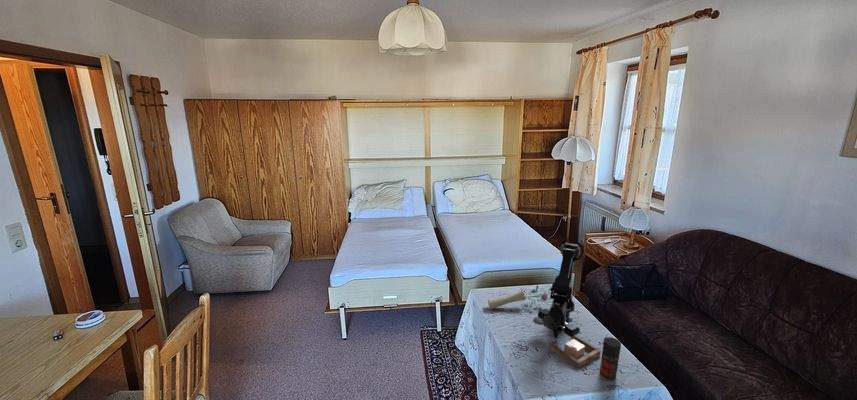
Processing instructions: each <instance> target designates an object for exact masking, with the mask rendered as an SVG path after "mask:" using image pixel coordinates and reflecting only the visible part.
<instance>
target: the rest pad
mask: <svg viewBox="0 0 857 400" xmlns="http://www.w3.org/2000/svg"><path fill="white" fill-rule="evenodd" d="M533 322H534V323H535V324H537V325H543V320H542V319H541V318H539V317H538V316H536V317H534V318H533Z"/></svg>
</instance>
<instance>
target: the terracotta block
mask: <svg viewBox="0 0 857 400" xmlns="http://www.w3.org/2000/svg"><path fill="white" fill-rule="evenodd" d="M563 351H564V352H566V353H567V354H569V355H570V356H572V357H573V358H575V359H576V360H578V359H579V358H581V357H583V355H584V354H585V352H586V348H585V345H583V344H581V343H579V342H578V341H576V340H574V339H570V340H568V341H567V342H565V343H564V347H563Z"/></svg>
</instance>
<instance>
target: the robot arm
mask: <svg viewBox="0 0 857 400" xmlns="http://www.w3.org/2000/svg"><path fill="white" fill-rule="evenodd" d="M560 254H561V256H562V259H561V263H560V270H559V273H558V275H557V276H556V277H555V279H554V282H552V284H551V287H552V289H551V291H550V293H551V294H549V295H550V296H549V300H552V301H553V302H552V303H551V305H550V308H549V309H547V308H543V309H542V310H539V311H538V312H537V317H539V318H541V319H542V320H543V324H542V325H543V326H544V327H545V328H548V330H552V332H553V336H554V339H556V340H557V339H558V338H560V335H561V334H562V333H563V332H564V334H565V335H567V336H568V337H570V338H571V337H573V336H574V335H576V336H577V335H579V334H580V330H581V329H580V327H579V326H578V325H575V324H574V323H570V324H569V322H572V320H573V319H572V318H570V315H571V314H570V313H573V312H575V302H574V300H573V294H572V293H573V288H572V286H571V285H572V278H573V269H574V262H575V261H576V260H577V259H578V257H579V256H580V254H581V247H580V246H579V244H577V243H570V242H564V243H562V245H561V246H560ZM553 291H554V293H555V295H552V294H553Z"/></svg>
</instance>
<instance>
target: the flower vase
mask: <svg viewBox="0 0 857 400" xmlns="http://www.w3.org/2000/svg"><path fill="white" fill-rule="evenodd" d="M551 289H552V286H550V285H549V289H548V290H547V293H546V292H544V293H541V295H533V296H532V295H531V294H536V292H537V293H538V290H539V285H538V284H536V287H535V288H533V289H532V290H530V292H529V293H528V296H526V295H525V293H524V290H521V291H519V292H517V293H514V294H511V295H508V296H503V297H497V298H494V299H493V298H492V299H489V300H487V304H488V306H489V309H490V310H493V309H496V308H498V307H501V306H504V305H507V304H510V303H514V302H518V301H519V302H521V301H525V300H526V299H528V300H530V301H531V303H530V306H533V305H534V306H535V307H536V308H538V306H537V304H536V301H535V300H533V302H532V299H531V298H536V297H537V298H540V299H541V300H542V302H547V300H548V295H551ZM549 292H550V293H549ZM552 295H556V294H555V293H554V291H553V294H552ZM551 302H552V303H553V300H551Z"/></svg>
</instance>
